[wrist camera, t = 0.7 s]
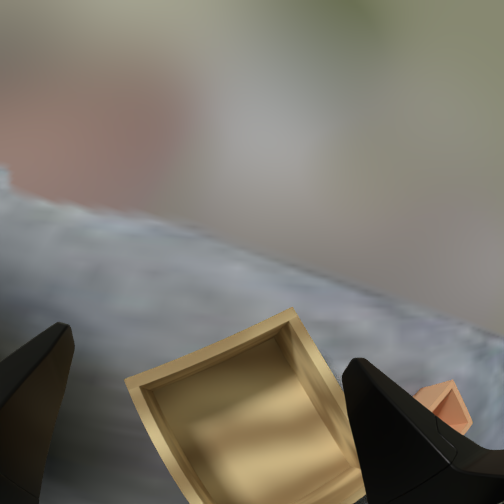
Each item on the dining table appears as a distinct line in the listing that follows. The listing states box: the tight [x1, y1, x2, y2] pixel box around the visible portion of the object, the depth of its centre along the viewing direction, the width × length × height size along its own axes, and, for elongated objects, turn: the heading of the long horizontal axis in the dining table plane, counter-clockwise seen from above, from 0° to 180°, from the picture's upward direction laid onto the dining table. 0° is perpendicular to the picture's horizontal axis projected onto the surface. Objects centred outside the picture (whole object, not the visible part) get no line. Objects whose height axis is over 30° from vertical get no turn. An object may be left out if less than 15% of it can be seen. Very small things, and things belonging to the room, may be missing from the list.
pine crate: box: [124, 307, 366, 504], centre depth 17 cm, size 16×13×6 cm
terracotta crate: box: [413, 380, 473, 435], centre depth 18 cm, size 6×8×5 cm
